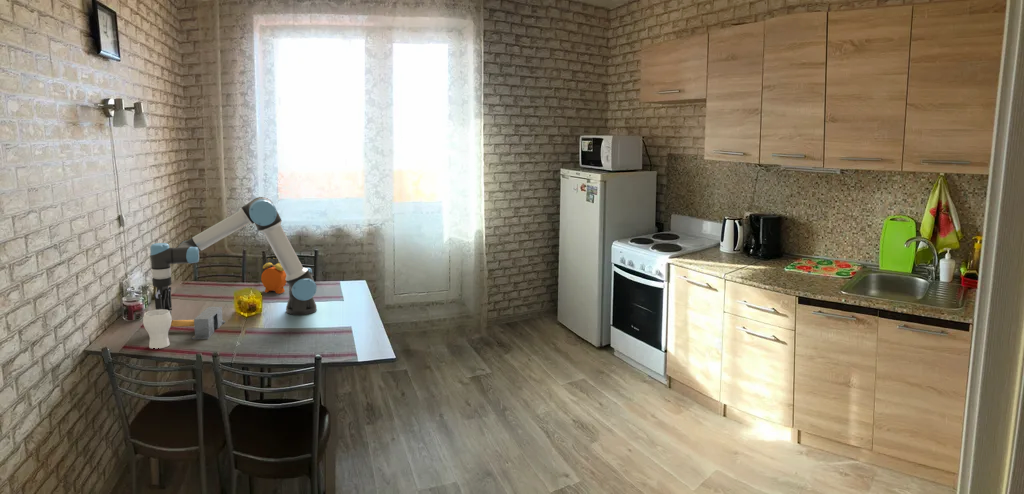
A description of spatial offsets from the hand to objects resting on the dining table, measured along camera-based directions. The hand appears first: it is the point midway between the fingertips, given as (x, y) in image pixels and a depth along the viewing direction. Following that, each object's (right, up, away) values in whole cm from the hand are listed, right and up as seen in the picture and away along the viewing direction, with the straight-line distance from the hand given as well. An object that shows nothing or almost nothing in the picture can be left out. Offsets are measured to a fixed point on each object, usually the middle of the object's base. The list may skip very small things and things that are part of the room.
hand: (165, 325), depth 283 cm
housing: (+19, -3, +3) cm, 19 cm away
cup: (+8, -7, -18) cm, 21 cm away
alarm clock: (+23, +10, +71) cm, 76 cm away
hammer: (+7, 0, +1) cm, 7 cm away
